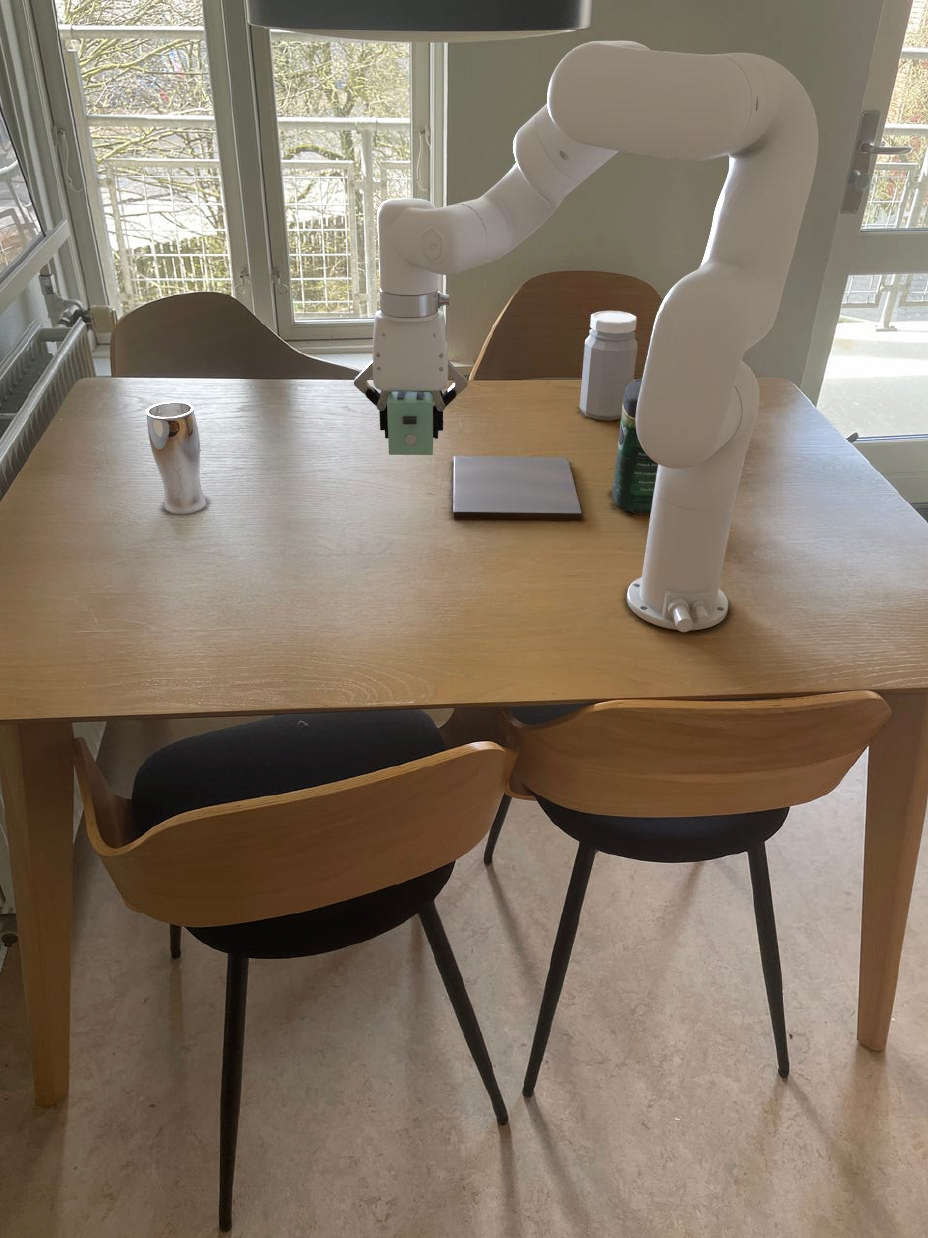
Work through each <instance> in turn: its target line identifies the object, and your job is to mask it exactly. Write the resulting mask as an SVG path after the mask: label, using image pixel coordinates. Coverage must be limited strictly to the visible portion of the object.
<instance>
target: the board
mask: <svg viewBox="0 0 928 1238" xmlns="http://www.w3.org/2000/svg"><path fill="white" fill-rule="evenodd" d="M580 504H581V503H580V501H579V496H578V493H577V489H576V485H575V481H574V477H573V473H572V469H571V464H570V461H569V457H568V456H565V457H564V456H495V455H494V456H492V455H490V456H488V455H484V456H483V455H453V520H507V521H509V520H510V521H511V520H516V521H517V520H519V521H520V520H521V521H522V520H525V521H531V520H532V521H582V516H583V512H582V509H581V505H580Z"/></svg>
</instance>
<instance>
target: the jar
mask: <svg viewBox="0 0 928 1238" xmlns="http://www.w3.org/2000/svg"><path fill="white" fill-rule="evenodd" d="M637 319H638V317H637V316H636V315H634V314H632V313H630V312H625V311H621V310H602V311H597V312H593V313H592V314H590V322H589V328H591V329H589V335H588V336H587V338H586V339H585V341H584V349H583V362H582V374H581V386H580V395H579V396H580V398H579V410H580V411H581V412H582V414H583V415H585V416H586V417H588V418H591V419H594V420H598V421H615V420H621V415H622V404H623V398H624V392H625V388H626V387H627V386H628V385H629V384H630V383H632V382H634V381H635V380H634V379H635V373H636V371H635V370H636V363H637V362H636V361H637V353H638V342H637V340H636V332H635V331H636V329H637V321H638V320H637Z"/></svg>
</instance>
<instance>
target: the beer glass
mask: <svg viewBox="0 0 928 1238" xmlns="http://www.w3.org/2000/svg"><path fill="white" fill-rule="evenodd" d="M194 409H195V408H194V406H193V405H192V404H189V403H187V402H181V401H168V402H162V403H157V404H153V405H152V406H149V408H147V409H146V410H145V414H146V415H145V416H146V425H147V433H148V435H147V436H148V441H149V445H150V449H151V450H150V451H151V453H152V455H153V459H154V462H155V465H156V467H157V470H158V472H159V475H160V478H161V480H162V485H163V490H164V491H163V493H164V494H163V496H164V497H163V507H164V509H165V510H166V511H167V512H168V513H170V514H176V515H187V514H188V515H189V514H192V513H193V514H194V513H196V512H200V511H201V510H202V509H204V508H205V507H206V504H207V500H206V497H205V494H204V492H203V488H202V485H201V478H200V476H201V473H200V470H201V469H200V468H201V440H200V439H201V438H200V433H199V427H198V423H197V418H196V414H195V410H194Z"/></svg>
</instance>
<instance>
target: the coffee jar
mask: <svg viewBox="0 0 928 1238" xmlns="http://www.w3.org/2000/svg"><path fill="white" fill-rule="evenodd" d="M641 383H642V378H636V379H635V380H633V382H632V383H630V384H629V385H628V386H627V387H626V388H625V392H624V398H623V404H622V415H621V418H620V426H619V433H618V442H617V451H616V458H615V467H614V473H613V481H612V490H611V491H612V492H611V494H612V499H613V501H614V503H615V505H616V507H618V509H620V510H622V511H627V512H629V513H634V514H640V515H646V514H651V509H652V502H653V495H654V488H655V482H656V476H657V470H658V464H657V463H656V462H654V461H653V460H652V459H651V458H650V457H649V456H648V455H647V454H646V453H645V451H644V450H643V448H642V446H641V444H640V442H639V439H638V436H637V432H636V408H637V402H638V397H639V393H640V388H641Z"/></svg>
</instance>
